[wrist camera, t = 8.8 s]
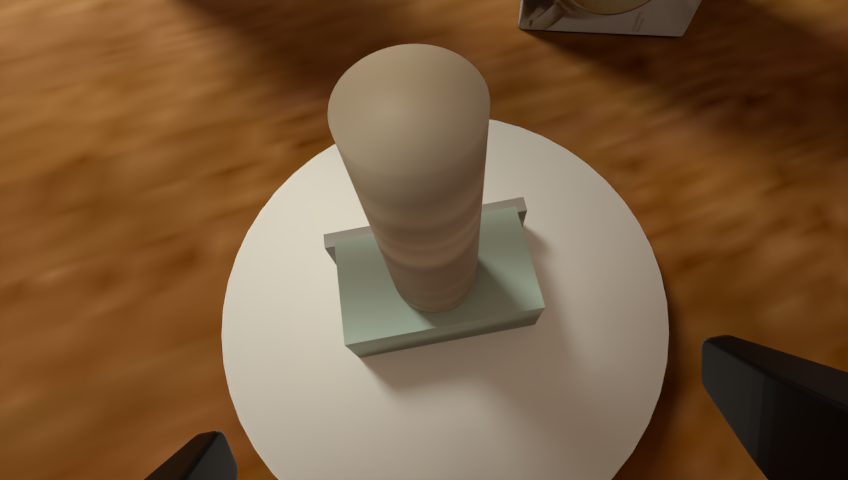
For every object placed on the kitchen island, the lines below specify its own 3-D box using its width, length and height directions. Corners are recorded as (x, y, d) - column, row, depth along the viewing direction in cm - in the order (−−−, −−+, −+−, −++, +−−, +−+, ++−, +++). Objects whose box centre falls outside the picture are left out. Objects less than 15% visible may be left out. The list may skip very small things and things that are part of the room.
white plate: (685, 569, 16) (706, 580, 15) (188, 518, 18) (166, 525, 16) (630, 136, 23) (640, 117, 22) (281, 131, 25) (271, 113, 24)
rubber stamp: (547, 322, 18) (663, 153, 8) (346, 360, 18) (189, 242, 8) (517, 219, 20) (578, -28, 10) (336, 253, 20) (198, 42, 10)
